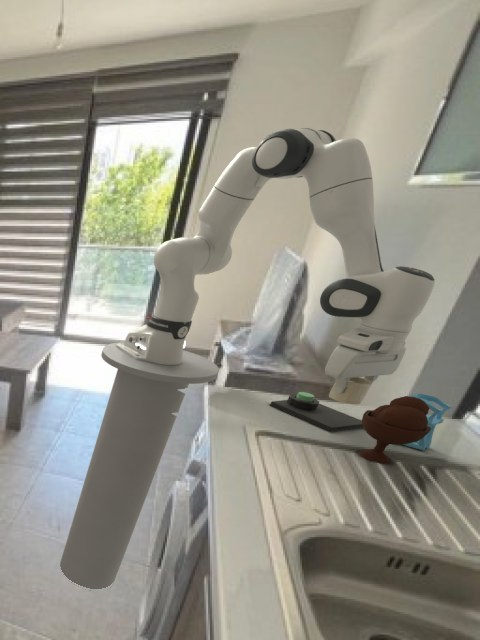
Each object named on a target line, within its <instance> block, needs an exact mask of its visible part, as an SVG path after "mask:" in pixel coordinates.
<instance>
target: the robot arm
mask: <svg viewBox="0 0 480 640" xmlns="http://www.w3.org/2000/svg"><path fill="white" fill-rule="evenodd" d="M293 178H304V180H305V181H306V182H307V186H308V196H309V197H308V198H309V208H310V212H311V215H312V217H313V221H314V223H315V224H316V226H318V227H319V228H320V229H322V230H324V231H326V232H327V233H329V234H330V235H331V236H333V237H334V238H335V239H336V240H337V241H338V243H339V245H340V248H341V251H342V256H343V263H344V268H345V275H346V277H344V278H340V279H338V280H334V281H333V282H331V283H329V284H328V285H327V286H326V287H325V288H324V289H323V291H322V292H321V294H320V297H319V305H320V307H321V309H322V310H323V312H324V313H326V314H327V315H330V316H331V317H335V318H359V319H361V321H360V323H359V324H358V327H355V328H353V329H352V330H350V331H348V332H345V333H343V334H341V335H339V337H338V339H337V341H336V344H337V346H336V347H335V348H334V350H333V351H332V353H331V355H330V356H329V358H328V360H327V363H326V365H325V367H324V374H325V376H328V377H330V378H334V379H335V382H336V386H335V388H334V390H333V391H334V392H335V393H338V394H341V393H345V391H346V389H347V388H348V387H346V383H347V382H348V381H349V380H350V378H356V377H361V378H364V379H367V380H369V381H371V382H372V384H374V382H376V381H377V379H378V378H379V376H389V375H393V374H394V373H396V371H397V370H398V368H399V366H400V364H401V362H402V360H403V358H404V356H405V354H406V350H407V349H406V346H405V345H406V340H407V338H408V336H409V335H410V332H411V330H412V327H413V323H414V322H415V319H416V318H417V317H418V316H420V314H421V313H422V312H423V310H424V308H425V307H426V305H427V303H428V301H429V299H430V297H431V295H432V292H433V289H434V286H435V281H436V279H435V278H434V276H433V274H431V273H430V272H428V271H425V270H422V269H418V268H414V267H409V266H402V265H401V266H395V267H393V268H390V269H388V270H387V269H386V270H384V268H383V265H382V261H381V255H380V248H379V243H378V237H377V231H376V225H375V224H376V223H375V212H374V211H375V210H374V209H375V207H374V206H375V205H374V203H375V202H374V201H375V200H374V197H375V196H374V180H373V173H372V167H371V162H370V158H369V154H368V152H367V149H366V147H365V144H364V142H363V141H362V140H360V139H358V138H353V137H349V138H341V139H338V140H337V139H336V138H335V137H334V135H333V134H332V133H330V132H329V131H326V130H324V129H323V130H322V129H316V128H311V127H310V128H309V127H302V128H284V129H279V130H276V131H275V132H272V133H270V134H268V135H267V136H266V137H264V138H263V139H261V141H260V142H258V145H257V146H251V147H247V148H244V149H242V150H240V152H238V153H237V154H236V155H235V156H234V157H233V159H232V160H231V161H230V162H229V164H228V165H227V166H226V168H224V170H223V171H222V173H221V175H220V176H219V177H218V179H217V181H215V184H214V185H213V187H212V188H211V190H210V191H209V193H208V195H207V197H206V198H205V200H204V201H203V203H202V204H201V207H200V208H199V210H198V213H197V217H198V220H199V222H200V223H199V228H198V230H197V233H196V234H195V236H193V237H176V238H174V239H170V240H166V241H164V242H163V243H161V244H160V245H159V246H158V247H157V249H156V251H155V253H154V256H153V265H154V268H155V269H156V270H157V272H158V275H159V279H160V291H159V295H158V299H157V303H156V306H155V309H154V313H153V314H152V315H147V317H145V320H147V322H146V324H143V325H142V326H140V327H137V328H135V329H132V330H131V331H129V332H128V334H127V335H126V337H125V339H124V341H122V342H123V343H118V342H117V343H118V344H117V345H116V347H117V348H118V349H120V350H121V351H123V352H125V353H126V354H128V355H129V356H131V357H132V358H134V359H136V360H139V361H147V362H151V363H156V364H163V365H178V364H181V363H182V354H183V350H184V349H185V348H186V338H187V335H188V333H189V332H190V330H191V326H192V324H193V321H192V319H193V316H194V313H195V311H196V307H197V305H198V302H199V298H200V297H199V293H198V292H197V290H196V289H195V278H196V276H197V275H200V276H201V275H202V276H203V275H209V274H213V273H215V272H218V271H221V270H222V269H224V268H226V266H227V265H228V264H229V263H230V261H231V259H232V255H233V249H232V246H231V243H232V240H233V237H234V233H235V231H236V229H237V227H238V225H239V223H240V222H241V220H242V218H243V217H244V215H245V214H246V212H247V211H248V209H249V208H250V206H251V205H252V204H253V202H254V200H255V199H256V198H257V196H258V194H259V193H260V191H261V190H262V189H263V187H264V186H265V185H266V184H267V182H269V181H270V180H272V179H279V180H280V179H282V180H287V179H293Z"/></svg>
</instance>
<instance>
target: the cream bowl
mask: <svg viewBox="0 0 480 640" xmlns="http://www.w3.org/2000/svg"><path fill="white" fill-rule="evenodd" d="M372 385H373V383H372V382H371V381H369V380H367V379H364V377H356V378H350V380H349V381H348V382H347V383H346V387H348V388H347V389H346V391H345V393H341V394H338V393H335V392H334V391H333V390H334V388H335V386H336V381H335V382H334V384H333V386H332V387H331V389H330V391H329V392H328V393H329V394H328V397H329V398H330V399H332V400H333V401H336V402H340V403H343V404H347V405H361V404H362V402H363V400H364V399H365V397H366V396H367V393H368V392H369V390H370V389H371V386H372Z"/></svg>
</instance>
